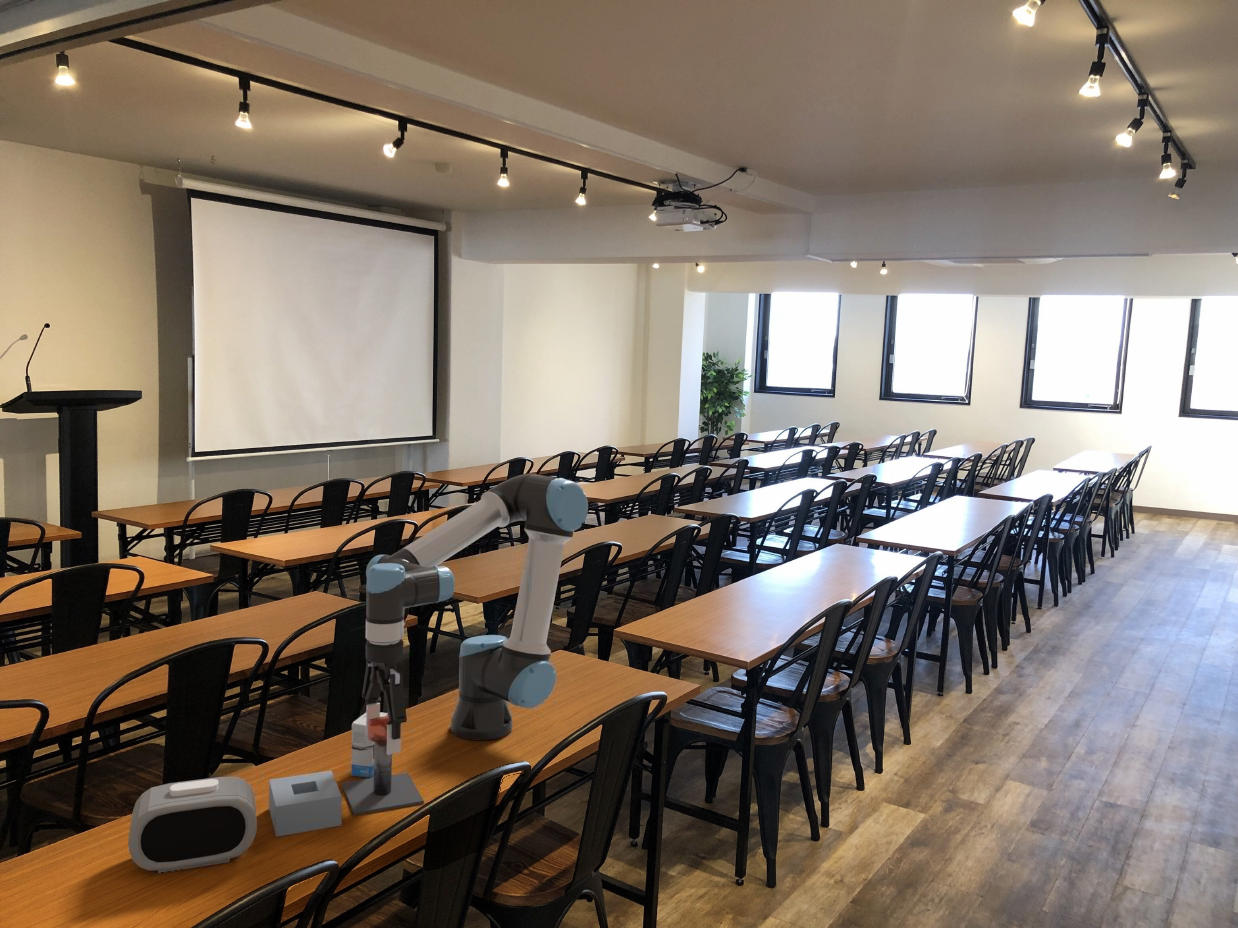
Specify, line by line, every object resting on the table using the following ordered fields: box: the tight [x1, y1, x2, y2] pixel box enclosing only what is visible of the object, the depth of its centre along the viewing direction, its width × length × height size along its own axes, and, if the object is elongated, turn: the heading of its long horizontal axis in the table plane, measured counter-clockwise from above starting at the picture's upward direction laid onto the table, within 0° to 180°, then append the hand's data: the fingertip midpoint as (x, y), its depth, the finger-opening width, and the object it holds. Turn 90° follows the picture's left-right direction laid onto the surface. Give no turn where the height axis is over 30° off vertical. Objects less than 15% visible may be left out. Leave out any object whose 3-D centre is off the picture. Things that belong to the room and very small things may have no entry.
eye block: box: [268, 770, 343, 838], centre depth 183 cm, size 12×12×6 cm
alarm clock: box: [127, 776, 258, 874], centre depth 167 cm, size 21×10×13 cm, turn 114°
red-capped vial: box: [368, 716, 393, 796], centre depth 193 cm, size 6×6×16 cm
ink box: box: [350, 711, 388, 779], centre depth 205 cm, size 8×5×12 cm, turn 168°
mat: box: [341, 772, 425, 816], centre depth 194 cm, size 14×14×1 cm
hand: (383, 742), depth 193 cm, fingers open, 10 cm apart
